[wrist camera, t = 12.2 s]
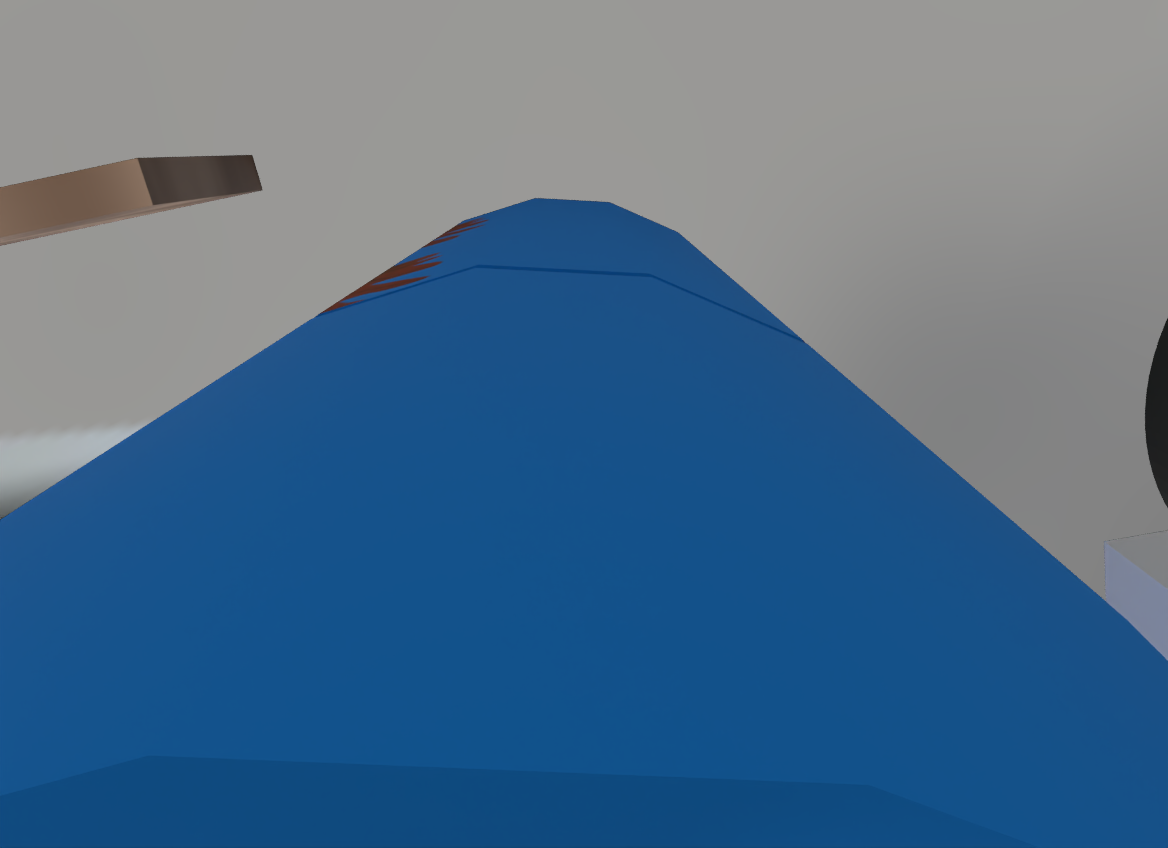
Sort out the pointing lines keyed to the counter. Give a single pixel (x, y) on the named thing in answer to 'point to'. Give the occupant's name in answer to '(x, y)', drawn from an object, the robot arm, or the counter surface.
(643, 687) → the thermos
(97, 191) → the wooden frame
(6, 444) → the counter surface
